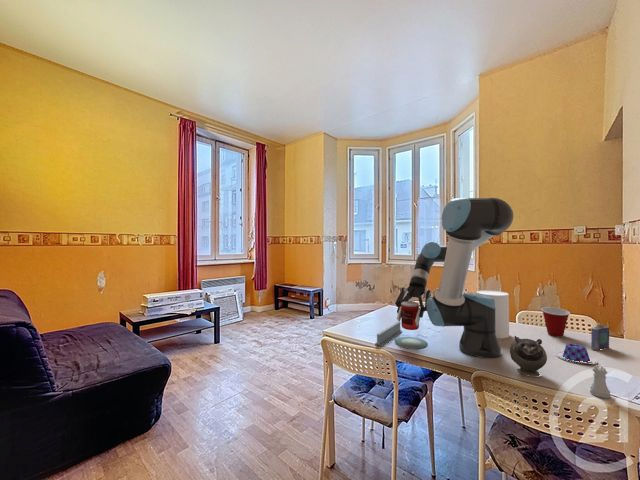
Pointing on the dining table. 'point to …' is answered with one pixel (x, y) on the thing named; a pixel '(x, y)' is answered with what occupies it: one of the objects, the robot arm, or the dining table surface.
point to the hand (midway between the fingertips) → (407, 321)
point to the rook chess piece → (600, 383)
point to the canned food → (409, 315)
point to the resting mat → (411, 342)
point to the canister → (499, 311)
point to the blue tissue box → (599, 337)
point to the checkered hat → (575, 353)
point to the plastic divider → (388, 334)
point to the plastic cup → (555, 320)
